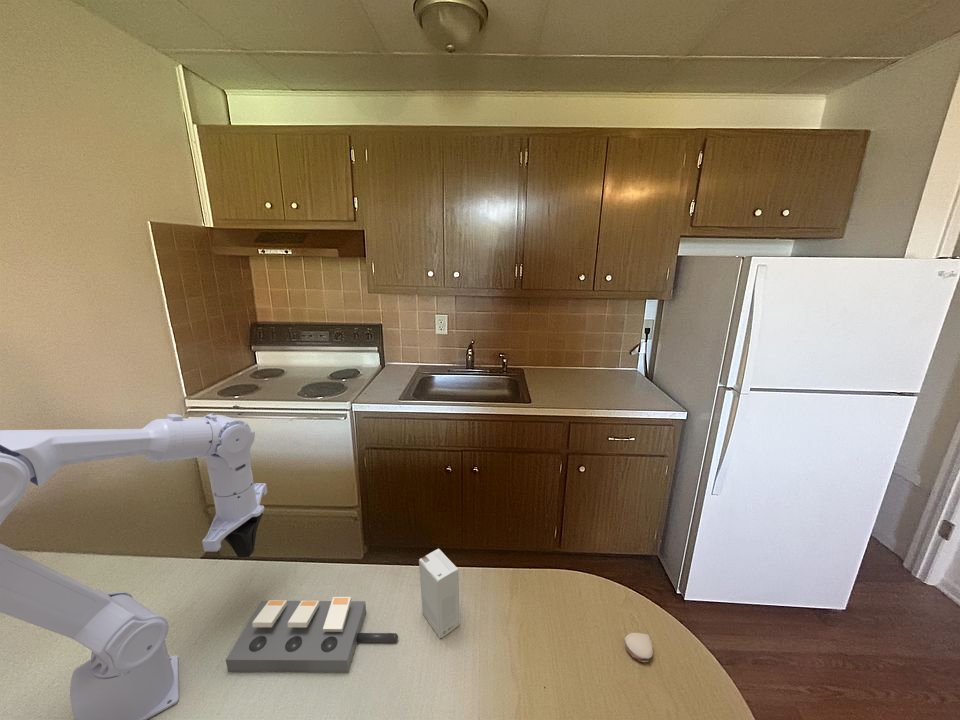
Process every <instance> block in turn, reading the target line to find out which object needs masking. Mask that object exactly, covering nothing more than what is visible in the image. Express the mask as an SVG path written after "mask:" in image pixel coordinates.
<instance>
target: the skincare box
mask: <svg viewBox="0 0 960 720" xmlns="http://www.w3.org/2000/svg"><path fill="white" fill-rule="evenodd" d="M418 564H419V565H418V567H419V580H420V581H419V582H420V592H421V593H420V595H421V597H420V598H421V607H422V608H421V609H422V610H421V612H422V615H423V616H424V618H425V619H426V621H427V622H428V623H429V625H430V626H431V628H432V629H433V631H435V633H436V634H437V636H438V637H439V638H440V639H442V638H443V637H445V636H447V635H448V634H450V633H451V632H452V631H454V630H455V629H457V628H458V627H459V626H460V624H461V623H460V622H461V621H460V620H461V618H460V589H459V588H460V586H459V583H460V581H459V579H460V578H459V568H458V567H457V566H456V565H455V564H454V563H453V562H452V561H451V560H450V558H448V557H447V556H446V554H445V553H444V552H443V551H442V550H441V549H440V548H437V549H435V550H433V551H431V552H429V553H428V554H426V555H425V556H423V557H420V558H419V559H418Z"/></svg>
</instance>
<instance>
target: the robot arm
mask: <svg viewBox="0 0 960 720" xmlns="http://www.w3.org/2000/svg"><path fill="white" fill-rule="evenodd" d="M255 435H256V432H255V431H254V430H252V429H251V427H250V425H249V424H248V423H246V422H245V421H243V420H240V419H237V418H233V417H230V416H226V415H222V414H216V413H213V412H212V413H209V414H206V415H205V416H203V417H189V418H184V416H183V415H180V414H177V413H172V414H171V413H170V414H167V415H166V418H157V419H154V420H151V421H150V422H148V423H147V424H146V425H145V426H144V427H141V428H112V429H111V428H106V429H105V428H100V429H99V428H96V429H95V428H91V429H90V428H89V429H88V428H87V429H85V428H83V429H76V428H75V429H74V428H73V429H72V428H71V429H68V428H66V429H1V430H0V526H1V525H2V523H3V522H4V521H5V519H6V518H7V517H8V515H10V513H11V512H12V511H13V509H14V508H15V507H16V506H17V504H18V503H19V502H20V501H21V500H22V498H23V496H24V495H25V493H26V492H27V491H28V490H27V489H28V488H29V486H30V483H32V484H34V485H35V486H37V487H41V486H43V485H45V484H47V482H48V481H49V480H50V479H51V478H53V476H54V475H56V473H57V472H58V471H60V469H61V468H62V467H64V466H67V465H73V464H81V463H87V462H88V463H89V462H95V461H103V460H110V459H117V458H125V457H131V456H133V457H134V456H140V455H142V456H143V457H144V458H146V459H147V460H148V461H149V462H153V463H160V462H169V461H178V460H186V459H195V458H203V457H204V458H205V461H206V467H207V468H206V469H207V473H208V477H209V482H210V488H211V494H212V497H213V502H214V507H215V514H214V517H213V520H212V522H211V525H210V527H209V529H208V532H207V534H206V535H205V537H204V538H203V539H202V540H201V543H202V547H203V551H204V552H218V551H220V549H221V548H222V545H221V543H222V542H223V541H224V540H225V541H226V542H227V543H228V545H230V548H231V549H232V550H233V552H234V554H236V557H238V558H250V557H251V556H252V554H253V553H254V551H255V544H256V538H257V537H256V536H257V532H258V528H259V525H260V522H261V519H262V518H263V513H264V511H265V506H264V505H261V502H262V498H263V497H264V496H266V495H267V493H268V488H267V483H260V482H259V483H257V482H256V483H254V477H253V470H252V465H251V464H252V463H251V457H252V455H251V448H252V446H253V444H254V441H255V437H256V436H255ZM132 595H133V594H131V593H128V592H126V591H115V592H114V591H113V592H106V591H103V590H101V589H100V588H99V589H98V588H97V589H95V588H94V587H92V586H89V585H87V584H85V583H83V582H81V581H78V580H76V579H74V578H72V577H70V576H68V575H67V574H64V573H62V572H60V571H58V570H56V569H54V568H53V567H50V566H48V565H46V564H44V563H41V562H40V561H37V560H36V559H33V558H32V557H29V556H27V555H25V554H22V552H19V551H18V550H15V549H14V548H11V547H8V546H7V545H5V544H3V543H0V613H2V614H4V615H6V616H9V617H11V618H12V617H13V618H14V619H17V620H20V621H23V622H26V623H28V624H31V625H34V626H37V627H40V628H42V629H45V630H46V631H50V632H53V633H56V634H58V635H61V636H64V637H66V638H69V639H71V640H73V641H75V642H77V643H79V644H80V645H82V646H83V647H85V648H87V649H88V650H90V651H91V657H90V659H88V660H87V661H86V662H84V663H83V664H80V665H79V666H77V667H76V668H75V669H74V670H73V671H72V674H71V678H70V685H69V698H70V700H69V701H70V705H71V706H70V707H71V710H72V713H73V717H74V719H75V720H148V719H150V718H153V717H154V716H155V715H157V714H159V713H161V712H163V711H165V710H166V709H169V708H170V707H172V706H174V705H176V704H177V703H178V702H179V699H180V697H179V696H180V695H179V693H180V691H179V689H180V688H179V686H180V685H179V683H180V682H179V656H178V655H177V654H175V655H173V656H170V655H169V652H168V651H169V650H168V648H167V644H166V639H167V636H168V632H169V627H170V625H169V624H170V623H169V621H168V619H167V618H166V617H165V616H163V615H161V614H157V613H156V612H154V611H153V610H152V609H150V608H148V607H146V606H145V605H144V604H143V603H141V602H139V601H138V600H136V599H135V597H133V596H132Z"/></svg>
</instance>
